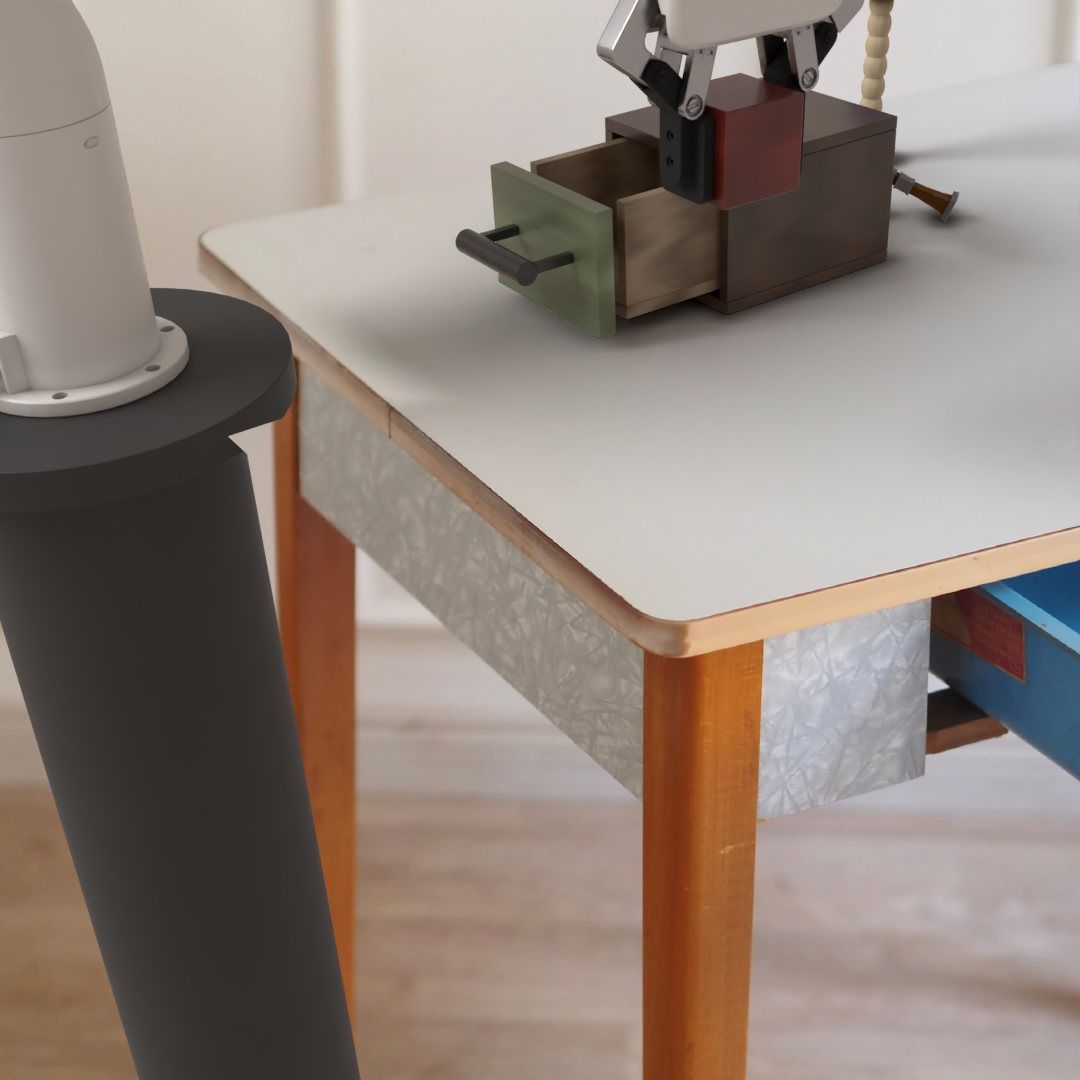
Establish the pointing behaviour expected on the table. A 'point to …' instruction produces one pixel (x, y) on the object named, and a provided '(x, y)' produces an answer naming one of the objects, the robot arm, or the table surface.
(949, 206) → the wooden post with brackets
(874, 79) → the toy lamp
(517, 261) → the drawer
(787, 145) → the block
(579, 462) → the table surface
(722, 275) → the cabinet
